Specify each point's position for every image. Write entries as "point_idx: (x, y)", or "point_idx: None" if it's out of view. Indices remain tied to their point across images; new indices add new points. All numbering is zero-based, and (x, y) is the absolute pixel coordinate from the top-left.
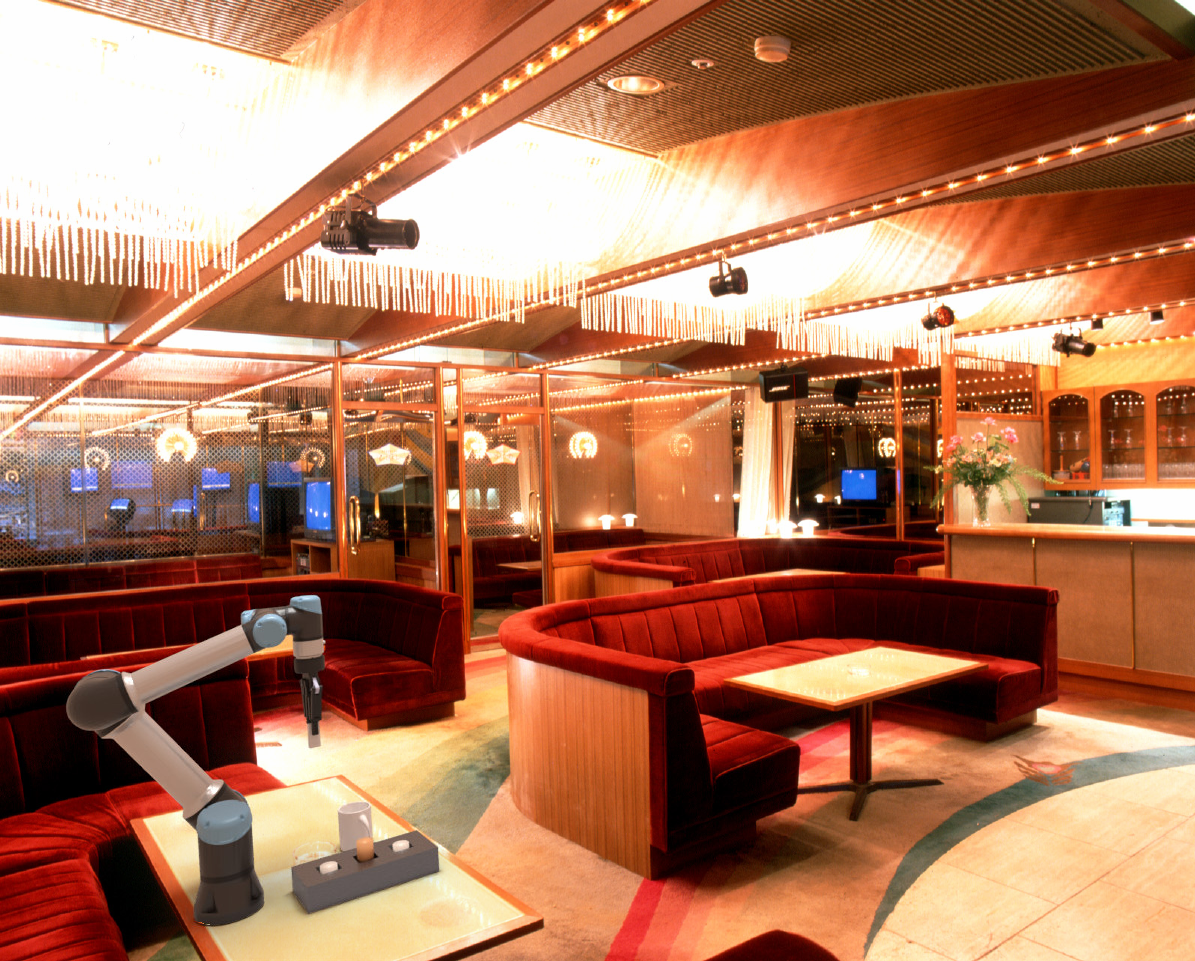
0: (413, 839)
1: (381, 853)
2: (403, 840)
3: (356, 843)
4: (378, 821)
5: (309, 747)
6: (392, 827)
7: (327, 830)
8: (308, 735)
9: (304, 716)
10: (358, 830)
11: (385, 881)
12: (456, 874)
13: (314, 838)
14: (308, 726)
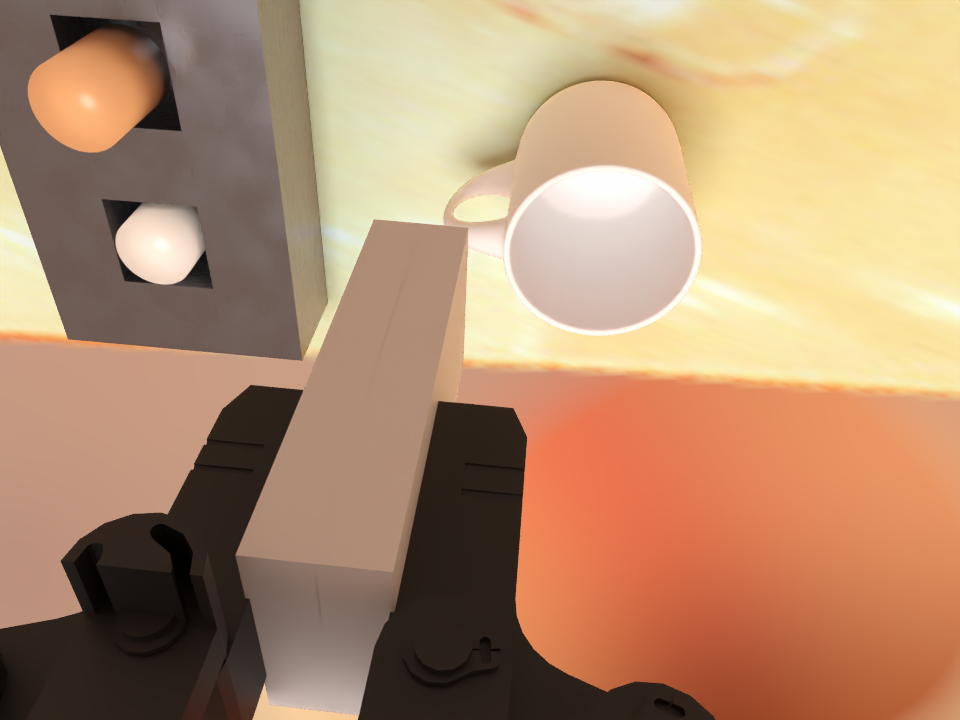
0: (205, 310)
1: (119, 149)
2: (181, 273)
3: (68, 57)
4: (792, 334)
5: (413, 225)
6: (667, 344)
7: (944, 126)
8: (400, 346)
9: (689, 703)
10: (512, 187)
11: None
12: (56, 308)
13: (912, 29)
14: (298, 485)
